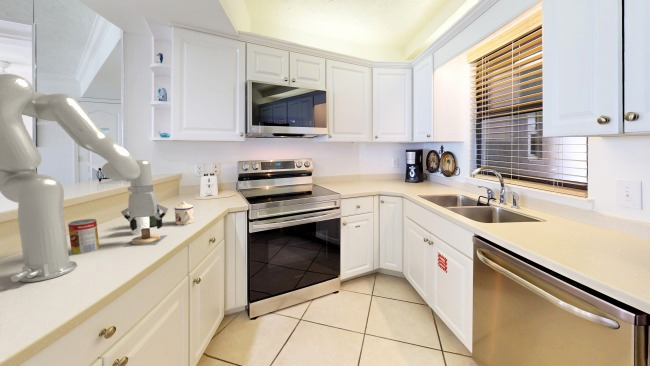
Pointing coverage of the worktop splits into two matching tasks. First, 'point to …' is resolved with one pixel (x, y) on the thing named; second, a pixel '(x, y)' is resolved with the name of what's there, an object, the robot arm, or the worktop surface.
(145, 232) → the lid
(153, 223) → the character mug
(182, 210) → the teacup with lid
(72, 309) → the worktop surface
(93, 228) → the canned food
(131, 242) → the mat
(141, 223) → the white cup
